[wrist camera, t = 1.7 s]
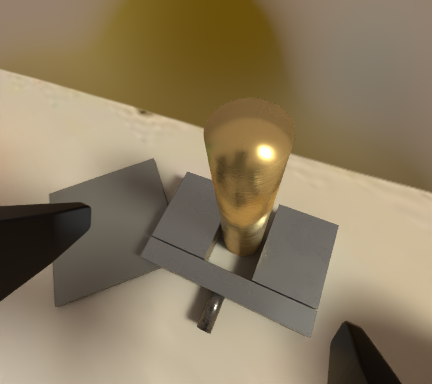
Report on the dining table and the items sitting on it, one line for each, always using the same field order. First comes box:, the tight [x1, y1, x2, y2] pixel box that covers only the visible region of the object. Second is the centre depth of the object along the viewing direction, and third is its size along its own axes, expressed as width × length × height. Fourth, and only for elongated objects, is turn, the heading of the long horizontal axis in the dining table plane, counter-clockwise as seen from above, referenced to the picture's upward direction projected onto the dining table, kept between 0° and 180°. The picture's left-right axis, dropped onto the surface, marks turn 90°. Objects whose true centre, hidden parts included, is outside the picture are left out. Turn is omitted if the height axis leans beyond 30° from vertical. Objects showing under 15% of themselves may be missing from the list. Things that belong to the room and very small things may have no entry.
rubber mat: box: [50, 158, 168, 307], centre depth 21 cm, size 10×10×1 cm
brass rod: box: [204, 98, 295, 256], centre depth 14 cm, size 3×3×13 cm
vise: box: [140, 172, 339, 337], centre depth 18 cm, size 10×12×2 cm
